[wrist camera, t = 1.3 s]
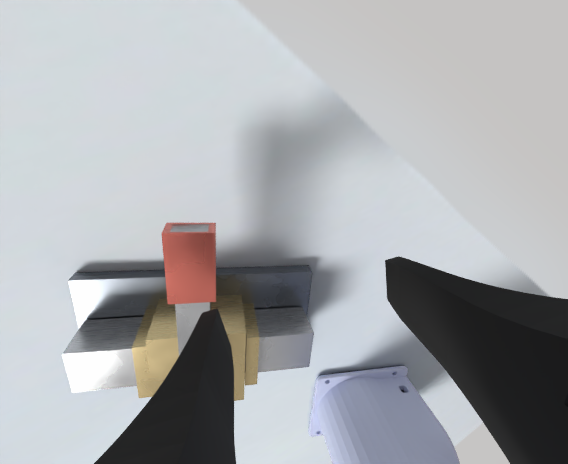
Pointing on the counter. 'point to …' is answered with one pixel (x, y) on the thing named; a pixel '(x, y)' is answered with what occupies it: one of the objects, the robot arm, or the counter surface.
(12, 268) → the counter surface
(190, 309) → the valve lever
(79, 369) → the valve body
